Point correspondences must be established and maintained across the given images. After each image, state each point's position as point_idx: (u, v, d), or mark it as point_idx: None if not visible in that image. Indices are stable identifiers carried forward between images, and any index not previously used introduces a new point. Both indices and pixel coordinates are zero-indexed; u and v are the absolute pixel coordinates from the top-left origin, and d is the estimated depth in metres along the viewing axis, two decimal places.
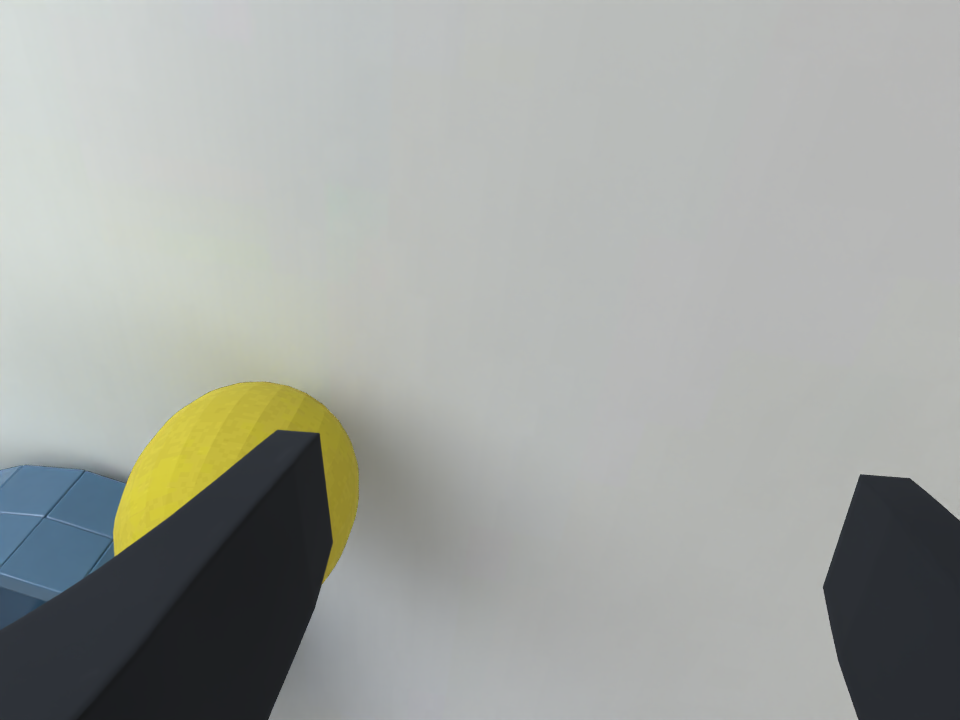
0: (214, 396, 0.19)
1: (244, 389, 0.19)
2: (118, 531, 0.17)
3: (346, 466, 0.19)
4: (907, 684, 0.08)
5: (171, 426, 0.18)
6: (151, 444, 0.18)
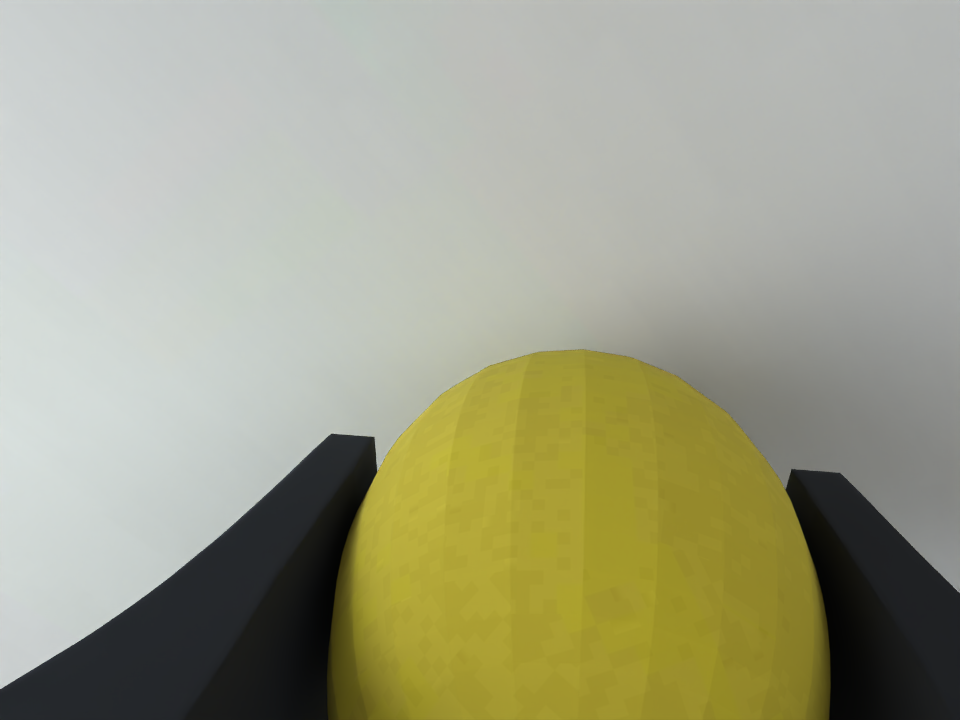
0: None
1: (425, 410, 0.10)
2: None
3: (692, 413, 0.08)
4: None
5: None
6: None
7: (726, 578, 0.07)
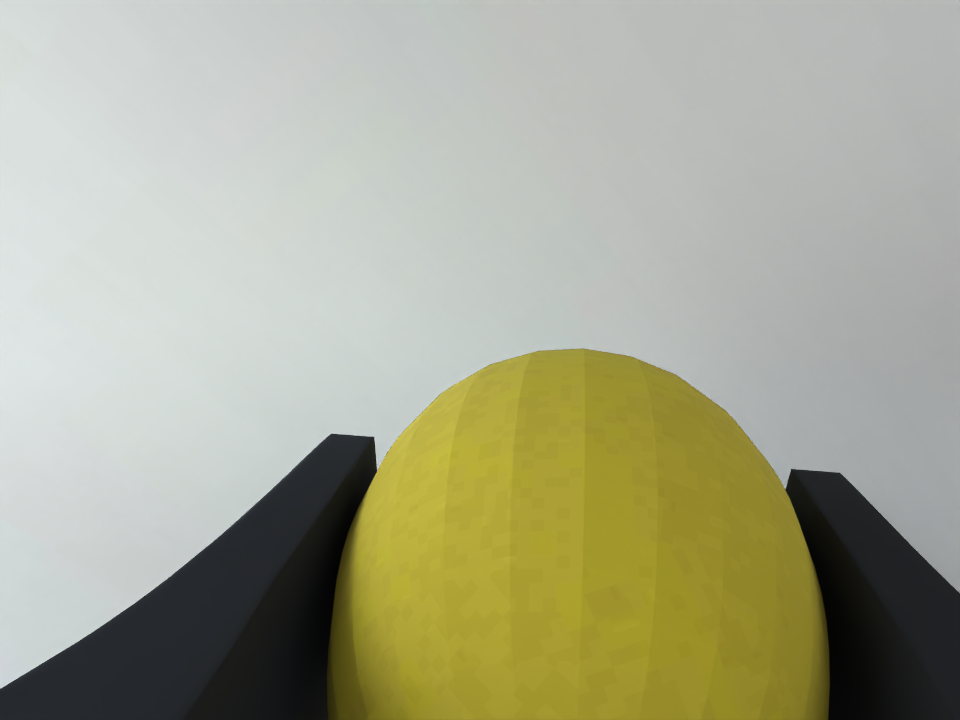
0: None
1: None
2: None
3: (692, 412, 0.08)
4: None
5: None
6: None
7: (725, 576, 0.07)
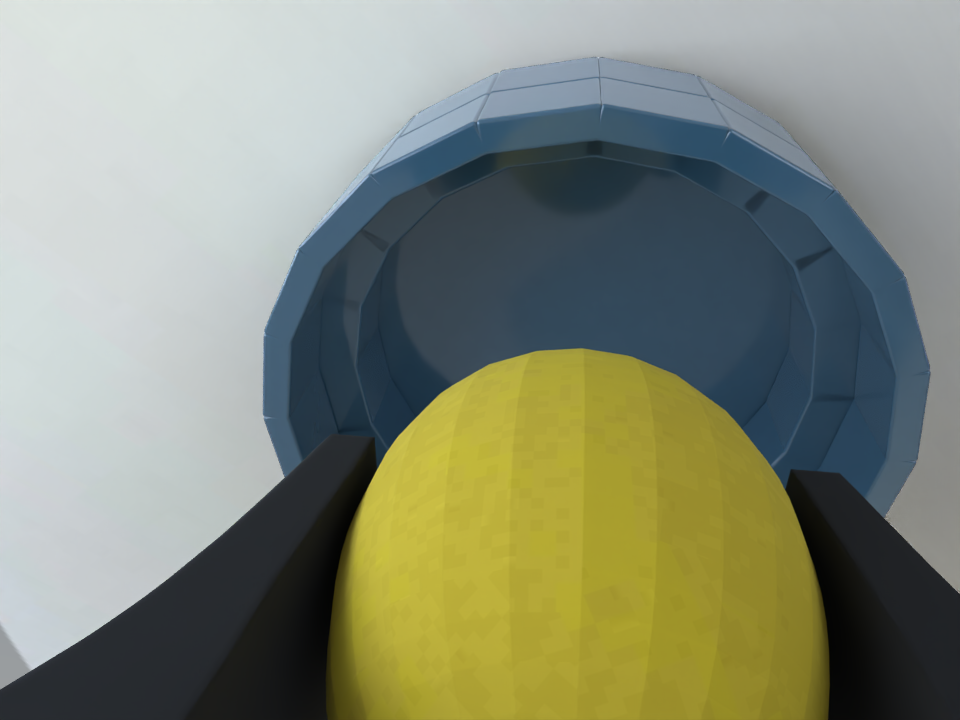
0: None
1: (424, 409, 0.09)
2: None
3: (692, 411, 0.08)
4: None
5: None
6: None
7: (724, 576, 0.07)
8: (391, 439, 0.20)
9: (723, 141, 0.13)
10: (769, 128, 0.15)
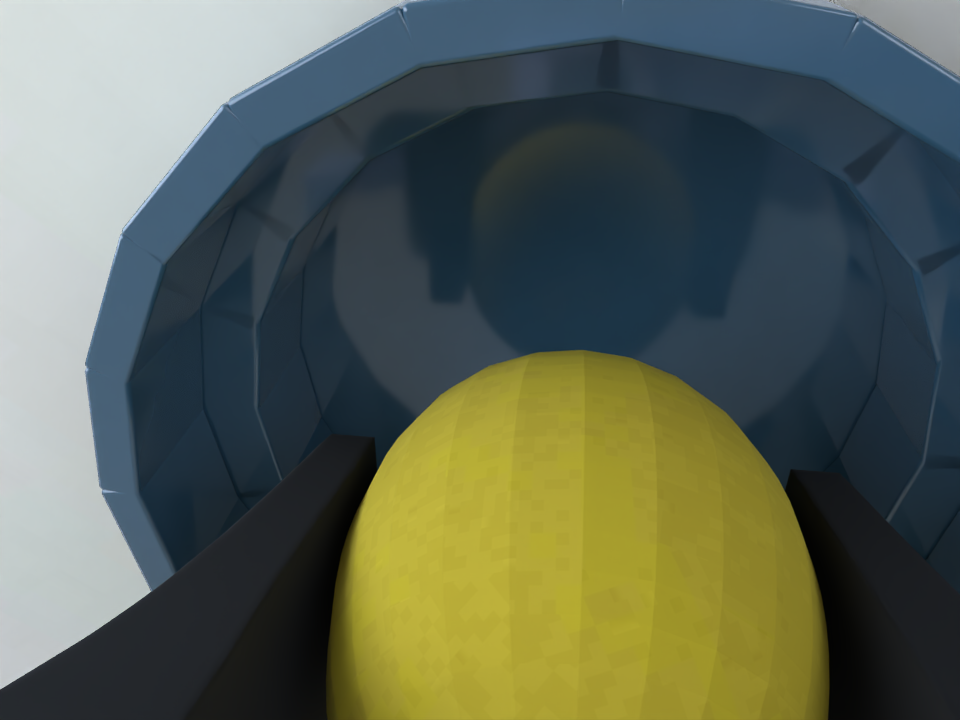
0: None
1: (424, 411, 0.10)
2: None
3: (691, 413, 0.08)
4: None
5: None
6: None
7: (724, 578, 0.07)
8: None
9: (846, 40, 0.07)
10: None
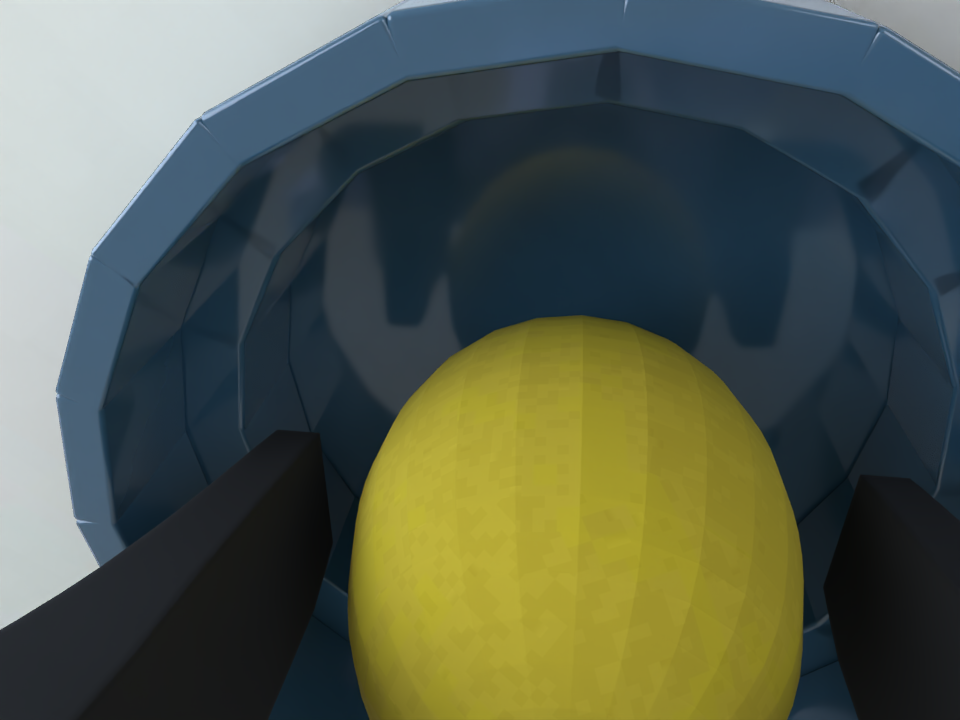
0: (400, 412, 0.10)
1: None
2: None
3: (680, 367, 0.09)
4: (907, 684, 0.08)
5: None
6: None
7: (707, 505, 0.07)
8: None
9: (865, 52, 0.06)
10: None
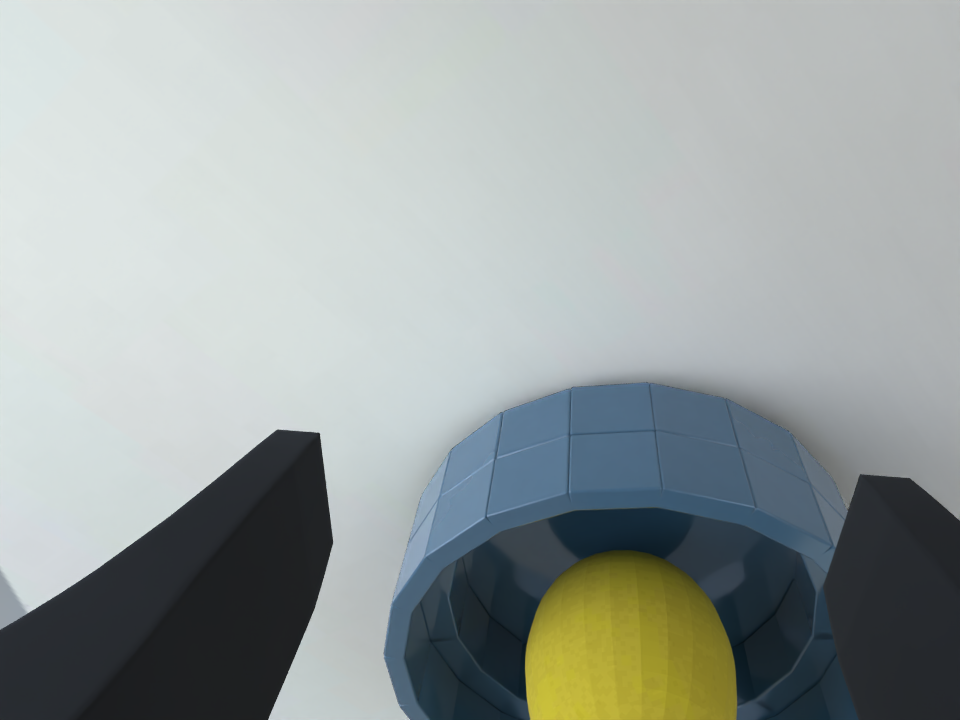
0: (544, 604, 0.21)
1: (561, 584, 0.21)
2: None
3: (681, 595, 0.20)
4: (907, 684, 0.08)
5: (529, 650, 0.20)
6: (525, 673, 0.20)
7: (692, 672, 0.18)
8: (472, 644, 0.24)
9: (751, 514, 0.17)
10: (782, 461, 0.19)
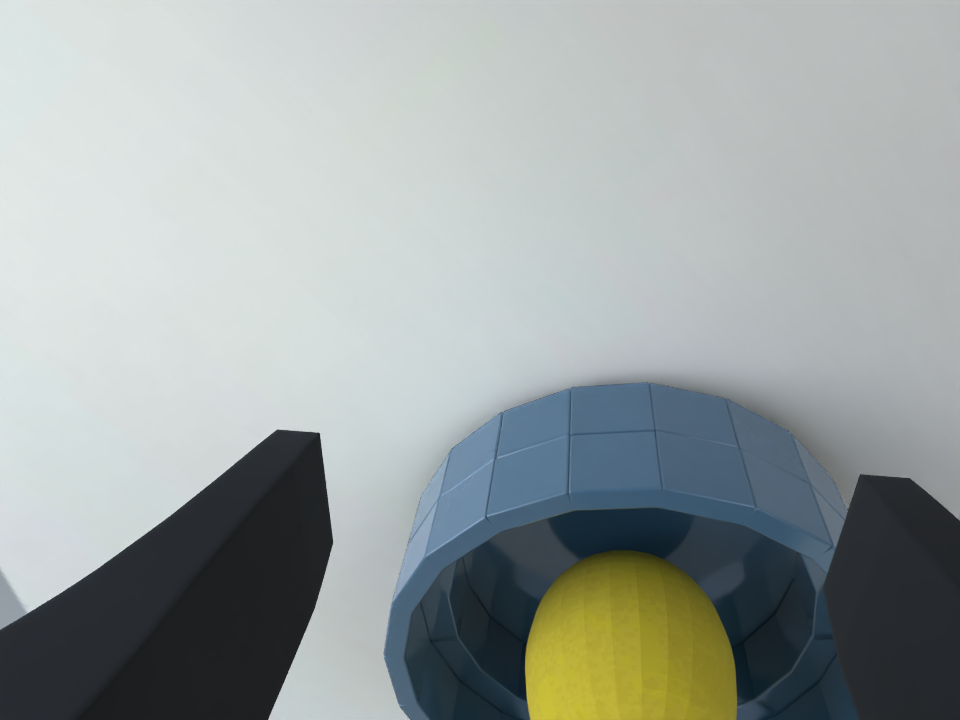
0: (544, 604, 0.21)
1: (561, 584, 0.21)
2: None
3: (681, 595, 0.20)
4: (907, 684, 0.08)
5: (529, 650, 0.20)
6: (525, 673, 0.20)
7: (692, 672, 0.18)
8: (472, 644, 0.24)
9: (751, 514, 0.17)
10: (782, 461, 0.19)
